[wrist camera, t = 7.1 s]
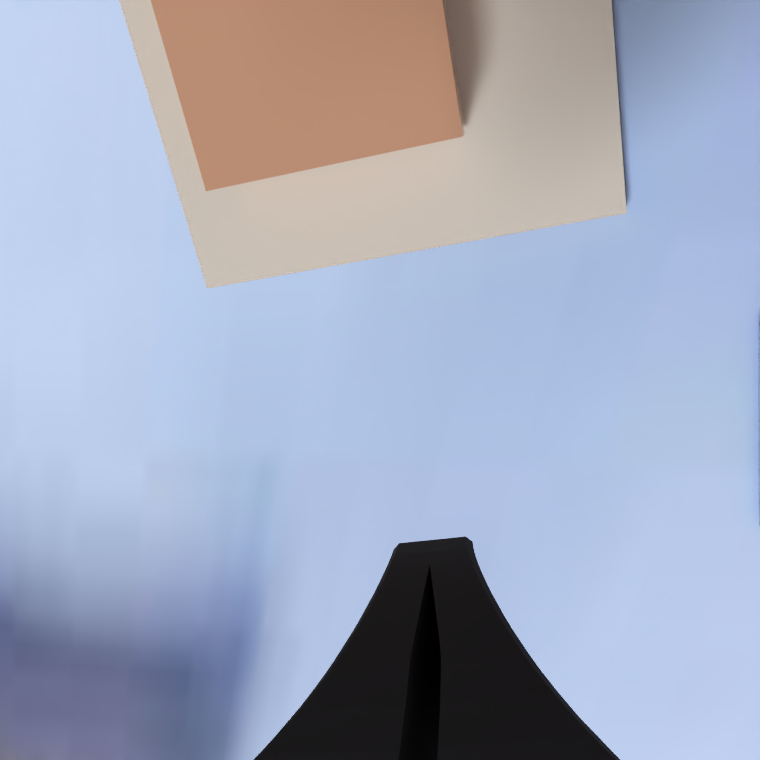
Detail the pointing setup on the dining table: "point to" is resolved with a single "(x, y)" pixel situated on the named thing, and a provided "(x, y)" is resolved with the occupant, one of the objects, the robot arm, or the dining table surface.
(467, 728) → the robot arm
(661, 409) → the dining table surface
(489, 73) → the mat
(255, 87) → the block
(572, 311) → the dining table surface
